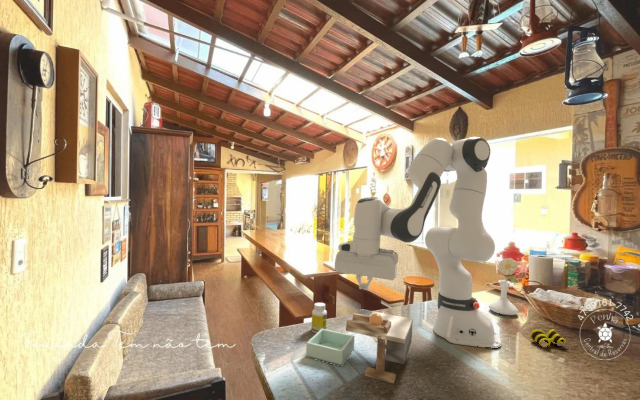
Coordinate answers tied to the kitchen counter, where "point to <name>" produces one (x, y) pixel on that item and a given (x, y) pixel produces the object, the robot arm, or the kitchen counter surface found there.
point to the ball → (376, 319)
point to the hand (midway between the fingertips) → (364, 289)
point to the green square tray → (330, 346)
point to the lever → (385, 332)
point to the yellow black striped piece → (546, 336)
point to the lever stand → (381, 363)
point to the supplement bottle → (319, 317)
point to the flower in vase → (505, 288)
